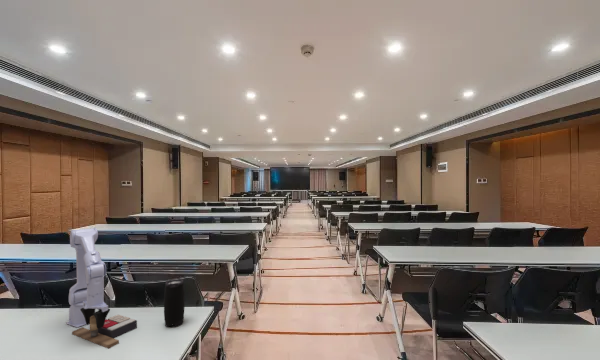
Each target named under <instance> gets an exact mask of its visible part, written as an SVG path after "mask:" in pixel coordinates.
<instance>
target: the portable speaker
mask: <svg viewBox="0 0 600 360" xmlns="http://www.w3.org/2000/svg"><path fill="white" fill-rule="evenodd" d="M163 295H164V296H163V299H164V300H163V318H164V324H165V325H164V326H165V328H169V327H170V326H171V327H172V326H175V327H179V326H181V325H183V324H184V320H185V319H184V317H185V303H186V302H185V298H186V297H185V283H184V278H183V279H182V278H179V279H168V280H167V281H165V285H164V294H163Z"/></svg>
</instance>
